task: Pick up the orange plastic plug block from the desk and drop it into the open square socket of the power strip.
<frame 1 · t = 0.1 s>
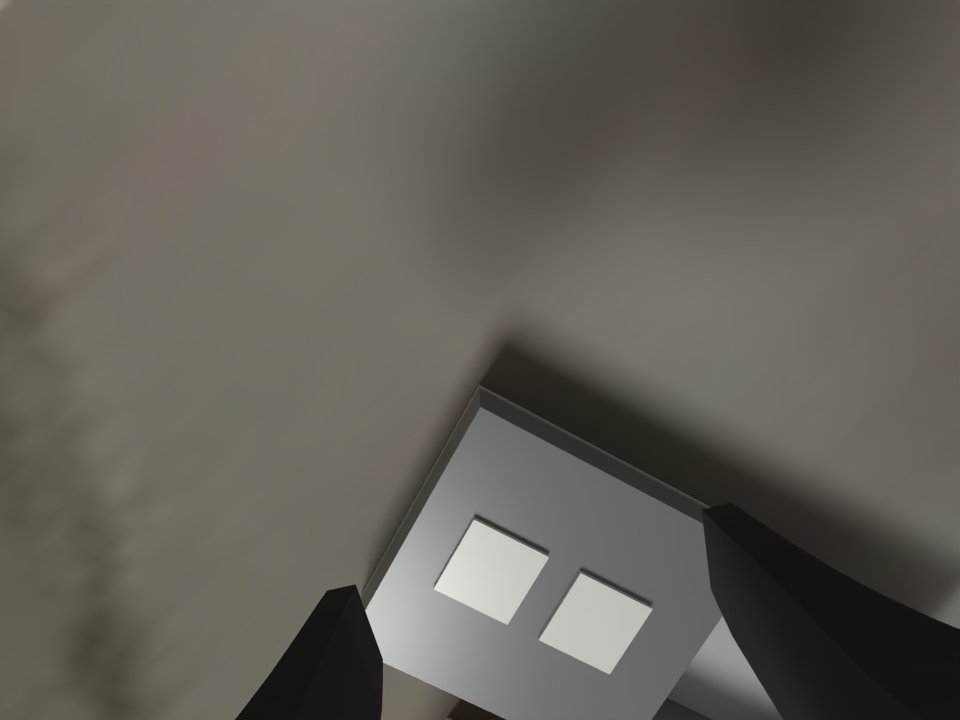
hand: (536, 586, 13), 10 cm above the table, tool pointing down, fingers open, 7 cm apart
power strip: (645, 607, 25), on the table
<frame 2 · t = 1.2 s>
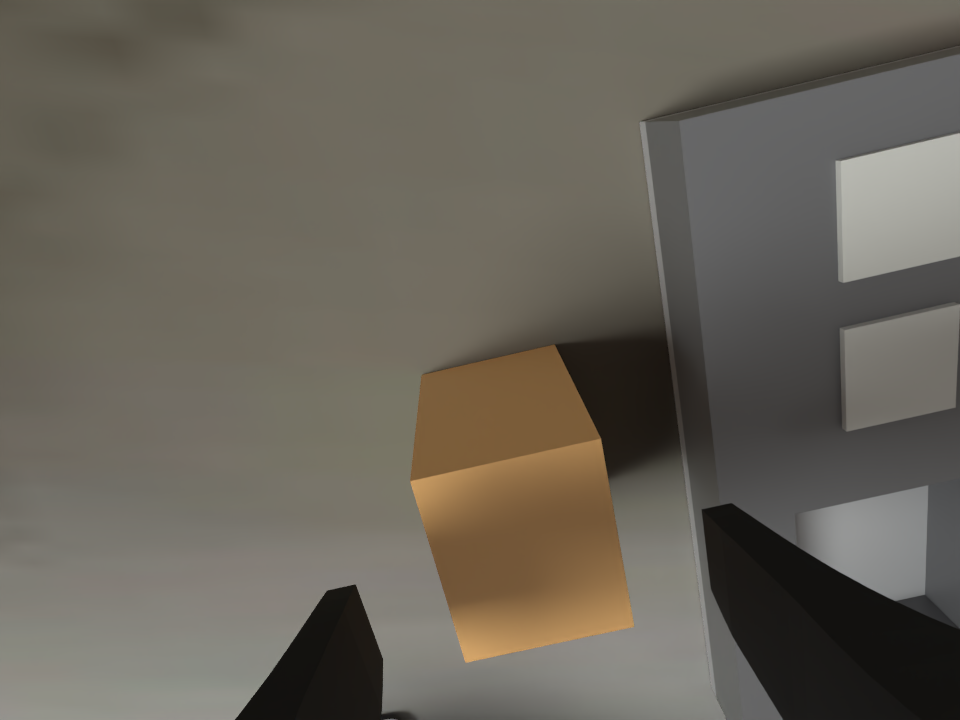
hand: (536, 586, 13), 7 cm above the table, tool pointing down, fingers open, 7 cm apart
power strip: (831, 420, 20), on the table
plug block: (505, 433, 19), on the table
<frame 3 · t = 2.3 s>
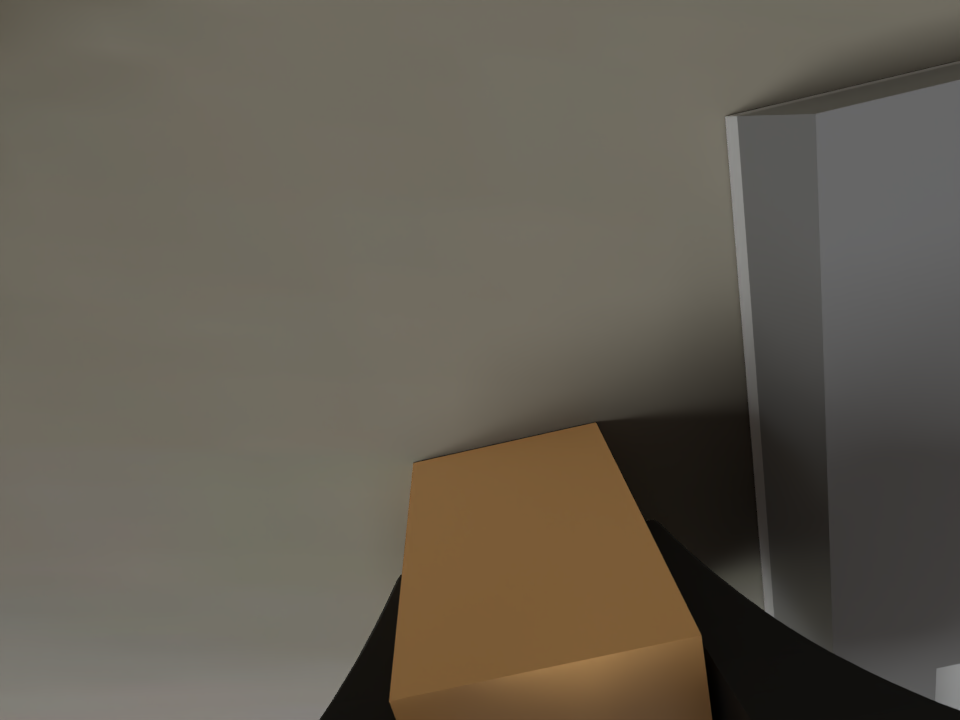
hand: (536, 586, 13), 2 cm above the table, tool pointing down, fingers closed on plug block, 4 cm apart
plug block: (526, 537, 14), on the table, touching gripper
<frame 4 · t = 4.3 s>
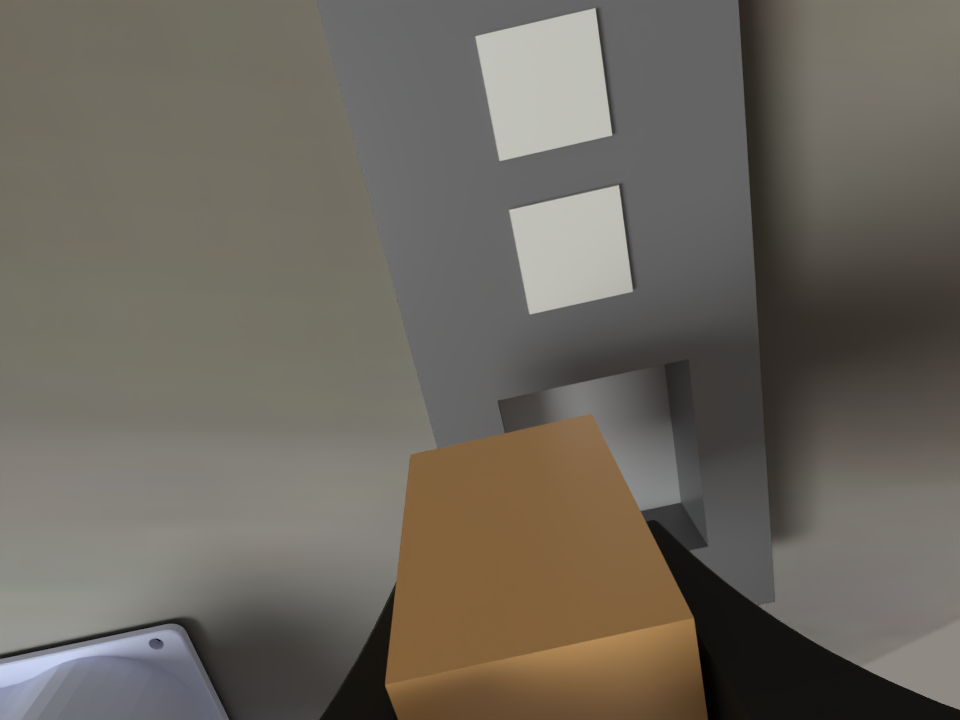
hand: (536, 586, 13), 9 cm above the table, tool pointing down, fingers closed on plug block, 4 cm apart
power strip: (569, 323, 20), on the table
plug block: (523, 529, 14), point 7 cm above the table, touching gripper
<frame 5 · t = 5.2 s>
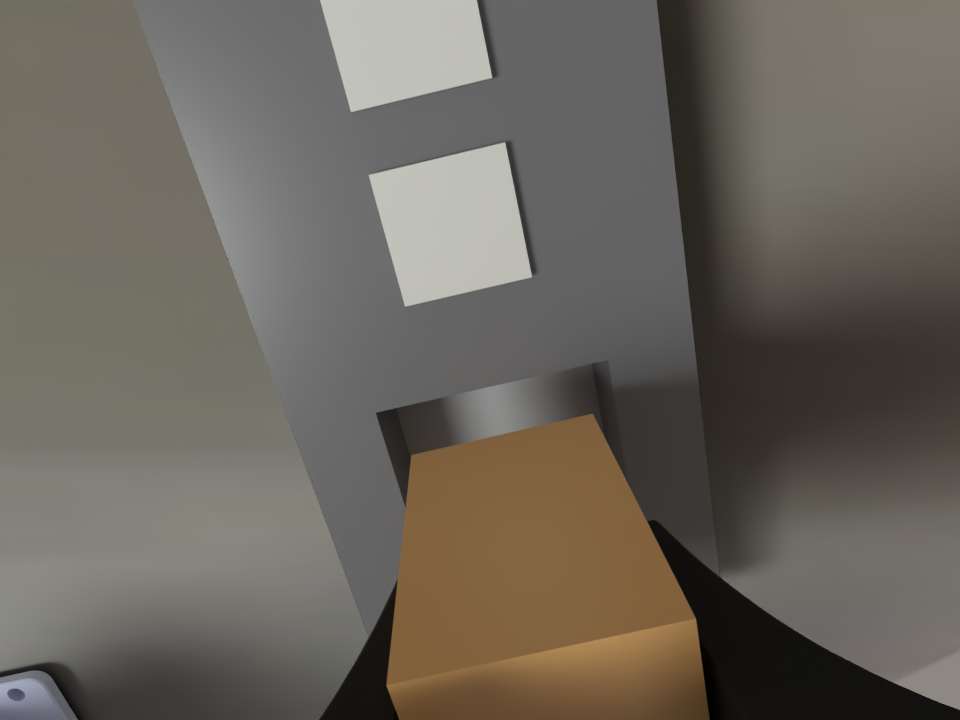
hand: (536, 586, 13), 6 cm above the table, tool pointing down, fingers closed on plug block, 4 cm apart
power strip: (477, 318, 17), on the table
plug block: (524, 529, 14), point 4 cm above the table, touching gripper
when the fingers open (3 cm above the table, at t = 6.1 s): plug block drops 1 cm, resting on power strip.
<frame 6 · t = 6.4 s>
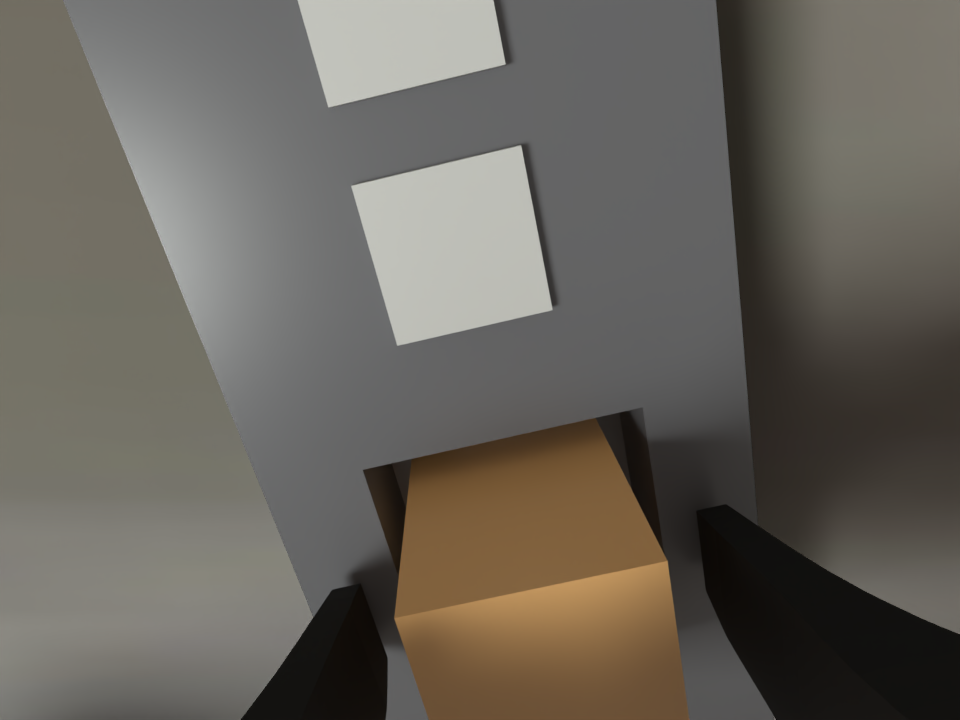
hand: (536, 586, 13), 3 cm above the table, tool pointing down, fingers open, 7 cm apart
power strip: (484, 350, 15), on the table
plug block: (519, 501, 16), resting on power strip
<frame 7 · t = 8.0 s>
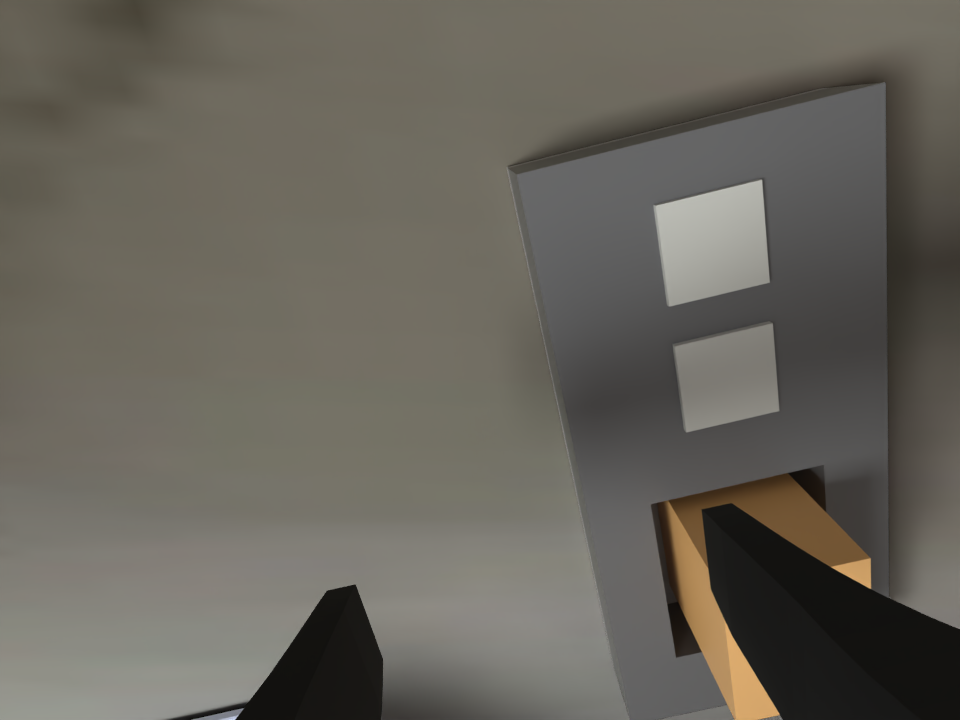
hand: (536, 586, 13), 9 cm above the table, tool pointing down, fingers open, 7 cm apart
power strip: (698, 421, 22), on the table
plug block: (715, 519, 23), resting on power strip
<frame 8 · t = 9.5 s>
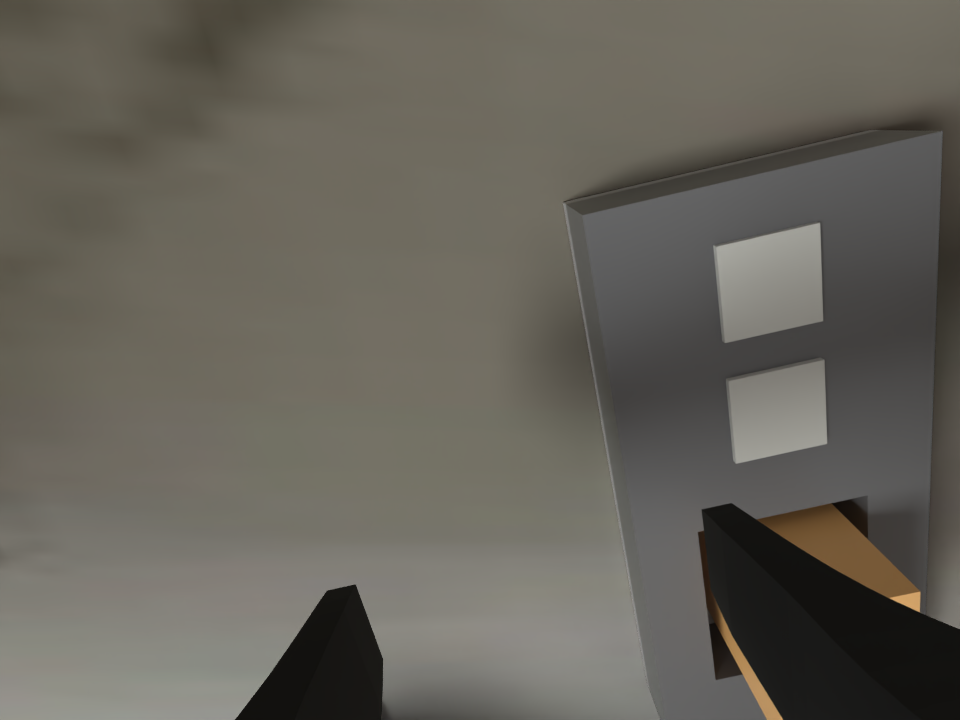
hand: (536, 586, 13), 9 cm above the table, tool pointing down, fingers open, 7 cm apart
power strip: (740, 448, 23), on the table
plug block: (753, 544, 24), resting on power strip
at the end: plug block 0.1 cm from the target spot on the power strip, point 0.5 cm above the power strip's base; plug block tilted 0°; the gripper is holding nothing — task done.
